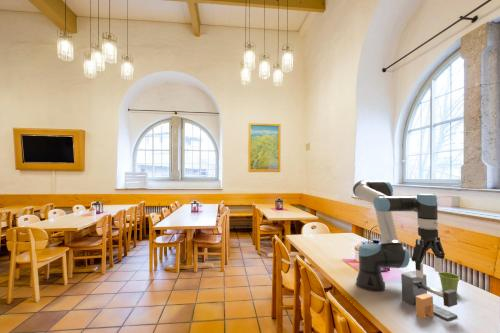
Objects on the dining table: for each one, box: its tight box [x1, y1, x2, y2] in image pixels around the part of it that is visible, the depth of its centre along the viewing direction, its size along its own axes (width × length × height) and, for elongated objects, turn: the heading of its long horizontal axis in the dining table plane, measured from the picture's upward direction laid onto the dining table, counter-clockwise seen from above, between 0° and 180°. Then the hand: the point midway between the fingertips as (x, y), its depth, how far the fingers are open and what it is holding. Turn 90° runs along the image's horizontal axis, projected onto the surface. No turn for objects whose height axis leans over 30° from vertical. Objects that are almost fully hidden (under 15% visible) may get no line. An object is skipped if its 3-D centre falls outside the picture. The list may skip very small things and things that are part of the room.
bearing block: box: [400, 270, 458, 322], centre depth 118 cm, size 20×10×14 cm, turn 21°
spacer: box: [415, 293, 435, 321], centre depth 111 cm, size 3×7×9 cm, turn 111°
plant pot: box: [437, 271, 461, 292], centre depth 134 cm, size 9×9×9 cm
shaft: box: [418, 283, 458, 308], centre depth 115 cm, size 15×6×6 cm, turn 21°
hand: (429, 274), depth 111 cm, fingers open, 13 cm apart
